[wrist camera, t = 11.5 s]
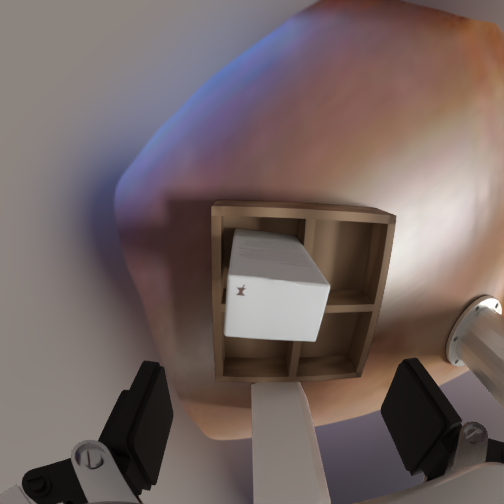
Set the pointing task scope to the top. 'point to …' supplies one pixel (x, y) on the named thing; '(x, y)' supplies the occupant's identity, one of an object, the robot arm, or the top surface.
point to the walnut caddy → (335, 272)
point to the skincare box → (273, 288)
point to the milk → (285, 447)
